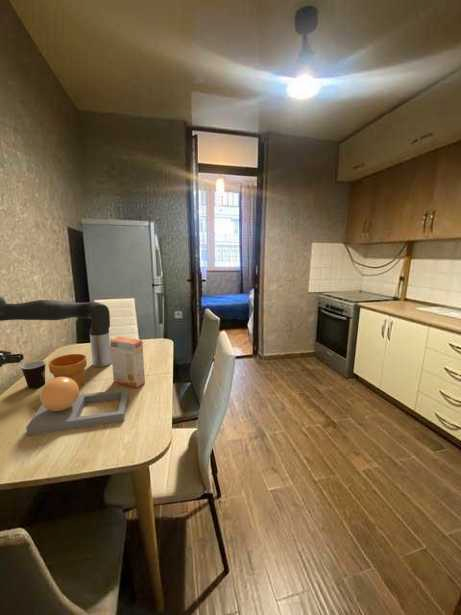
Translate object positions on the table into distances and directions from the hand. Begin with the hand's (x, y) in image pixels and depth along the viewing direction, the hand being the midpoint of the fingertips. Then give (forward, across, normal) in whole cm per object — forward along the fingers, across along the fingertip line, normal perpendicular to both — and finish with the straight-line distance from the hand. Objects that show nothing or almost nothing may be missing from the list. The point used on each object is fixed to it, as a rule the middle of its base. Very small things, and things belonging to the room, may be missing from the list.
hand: (21, 357), depth 93 cm
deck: (+17, 0, +24) cm, 29 cm away
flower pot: (+7, +23, +24) cm, 34 cm away
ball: (+10, 0, +15) cm, 18 cm away
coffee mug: (-8, +30, +24) cm, 39 cm away
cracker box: (+32, +21, +24) cm, 45 cm away
